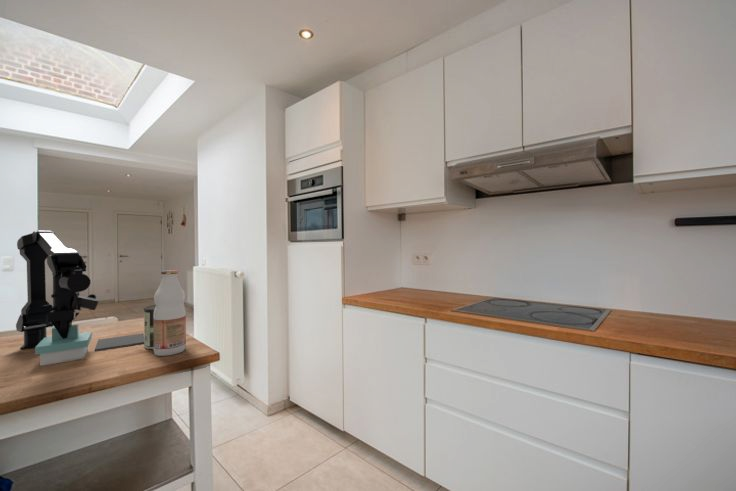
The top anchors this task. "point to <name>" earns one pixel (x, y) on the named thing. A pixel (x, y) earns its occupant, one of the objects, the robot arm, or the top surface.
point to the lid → (64, 341)
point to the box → (63, 356)
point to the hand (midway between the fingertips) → (65, 337)
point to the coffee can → (149, 327)
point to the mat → (119, 342)
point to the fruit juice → (169, 316)
